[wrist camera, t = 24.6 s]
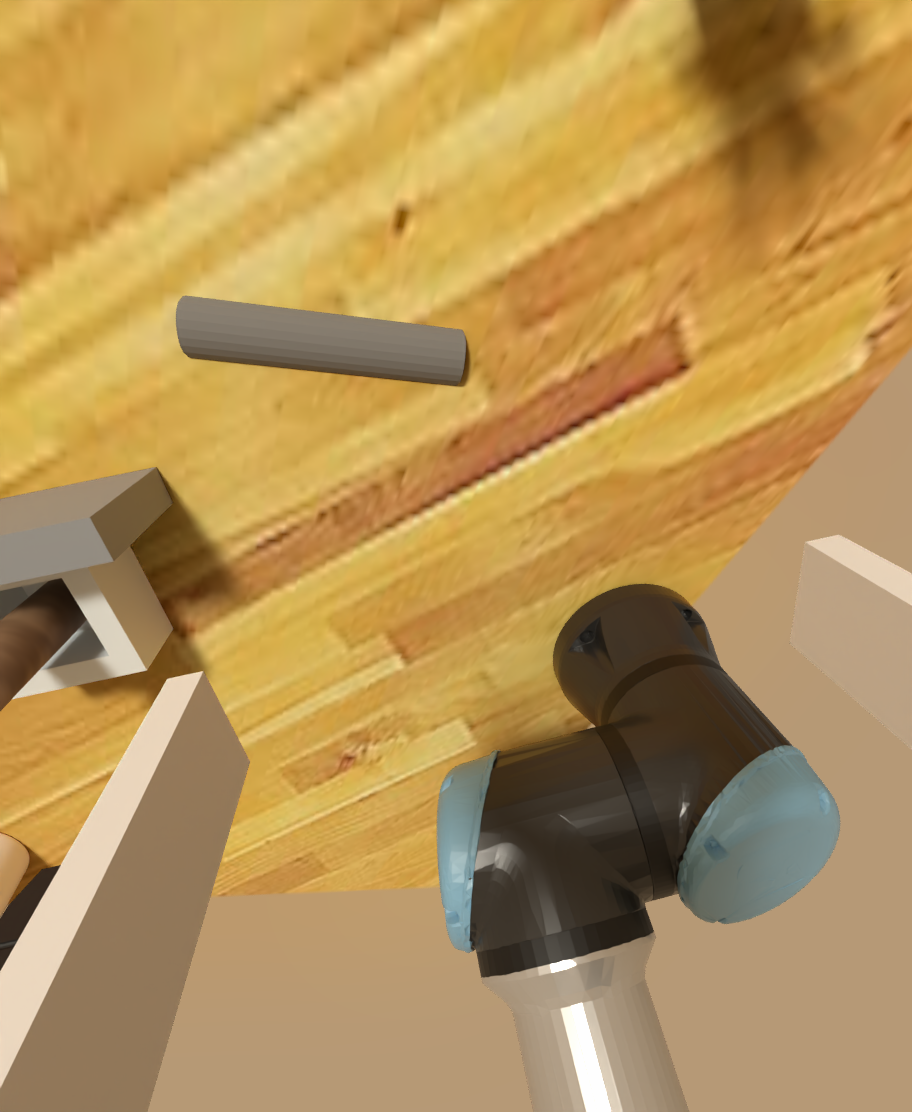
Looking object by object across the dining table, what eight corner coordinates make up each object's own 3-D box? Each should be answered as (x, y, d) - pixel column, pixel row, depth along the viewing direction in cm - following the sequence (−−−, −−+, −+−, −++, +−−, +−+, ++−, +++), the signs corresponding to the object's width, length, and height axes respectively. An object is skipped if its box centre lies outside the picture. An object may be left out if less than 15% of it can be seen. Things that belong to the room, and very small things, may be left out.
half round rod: (458, 387, 40) (461, 391, 39) (188, 358, 37) (179, 361, 36) (465, 327, 38) (469, 328, 37) (181, 292, 35) (171, 292, 34)
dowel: (111, 608, 44) (-3, 734, 31) (64, 617, 44) (-70, 747, 31) (88, 567, 42) (-43, 682, 29) (38, 576, 42) (-114, 696, 29)
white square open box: (174, 626, 46) (147, 670, 41) (50, 653, 46) (6, 700, 41) (115, 514, 41) (75, 547, 36) (-24, 542, 41) (-85, 580, 36)
